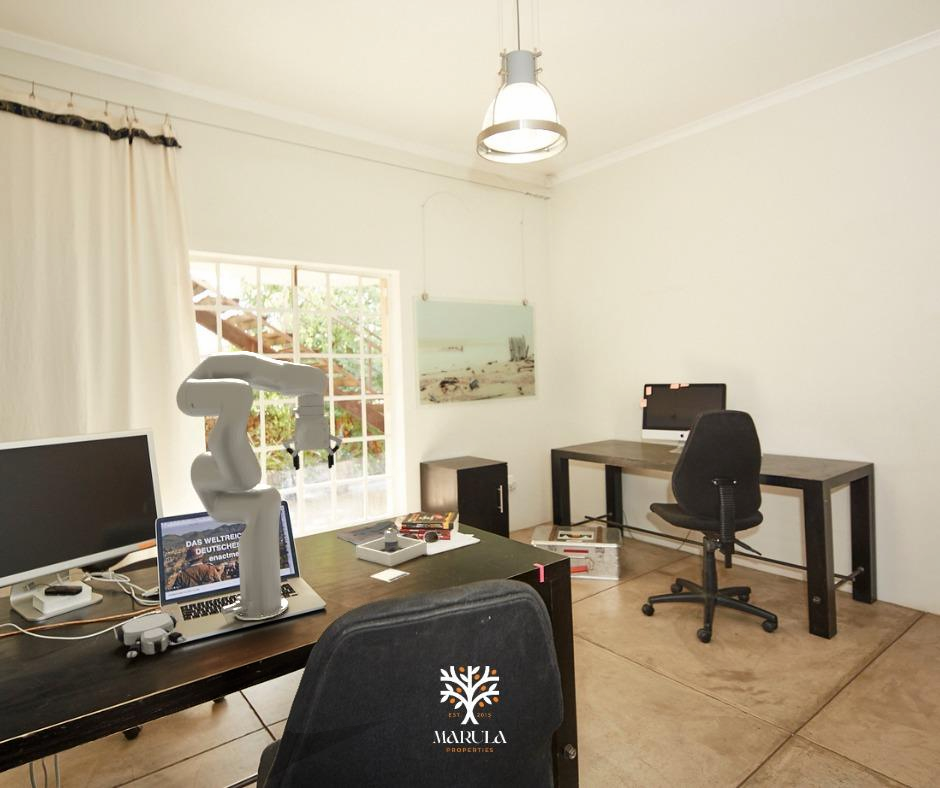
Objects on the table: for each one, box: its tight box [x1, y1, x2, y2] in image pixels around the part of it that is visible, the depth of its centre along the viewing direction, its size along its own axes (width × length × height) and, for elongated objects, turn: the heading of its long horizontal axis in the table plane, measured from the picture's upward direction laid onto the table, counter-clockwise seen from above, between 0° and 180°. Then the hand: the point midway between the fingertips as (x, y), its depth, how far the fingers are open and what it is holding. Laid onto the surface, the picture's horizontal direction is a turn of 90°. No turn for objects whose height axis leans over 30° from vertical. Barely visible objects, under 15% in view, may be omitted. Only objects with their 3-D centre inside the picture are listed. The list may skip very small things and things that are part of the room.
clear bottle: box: [384, 528, 399, 554], centre depth 182 cm, size 4×4×9 cm
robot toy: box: [112, 610, 188, 658], centre depth 127 cm, size 12×4×15 cm
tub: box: [355, 536, 428, 567], centre depth 182 cm, size 16×16×4 cm
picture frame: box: [336, 520, 400, 546], centre depth 209 cm, size 16×2×22 cm
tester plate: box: [369, 568, 411, 583], centre depth 164 cm, size 8×8×1 cm
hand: (314, 468), depth 174 cm, fingers open, 9 cm apart
